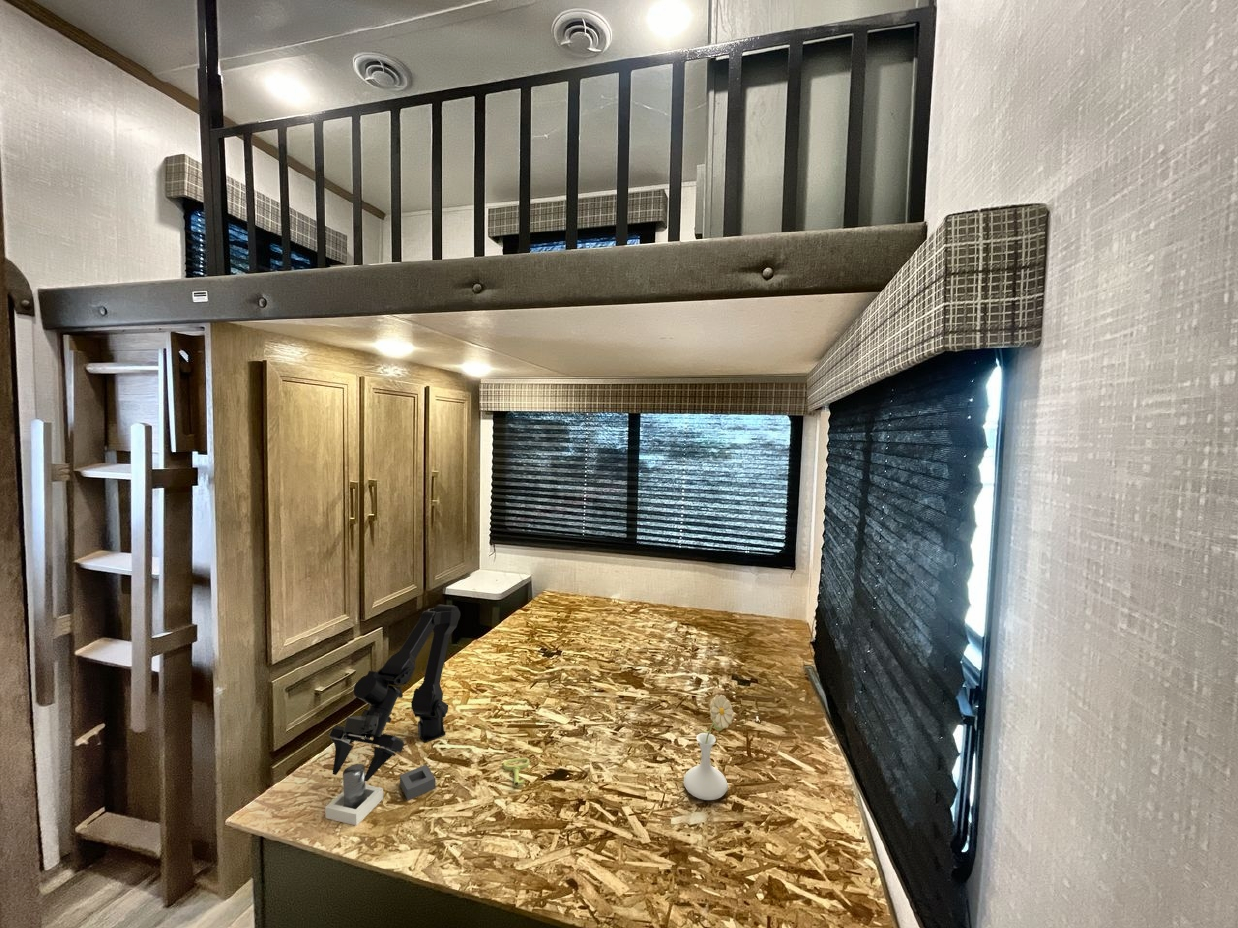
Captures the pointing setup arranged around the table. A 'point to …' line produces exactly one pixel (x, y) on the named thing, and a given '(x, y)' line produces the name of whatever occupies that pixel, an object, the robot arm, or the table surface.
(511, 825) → the table surface
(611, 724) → the table surface
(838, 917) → the table surface
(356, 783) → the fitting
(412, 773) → the block
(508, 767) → the key
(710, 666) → the table surface
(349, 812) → the tray
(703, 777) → the flower in vase
